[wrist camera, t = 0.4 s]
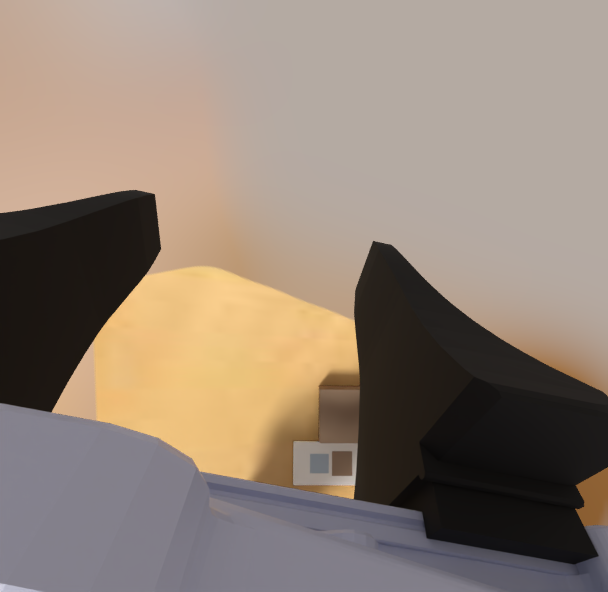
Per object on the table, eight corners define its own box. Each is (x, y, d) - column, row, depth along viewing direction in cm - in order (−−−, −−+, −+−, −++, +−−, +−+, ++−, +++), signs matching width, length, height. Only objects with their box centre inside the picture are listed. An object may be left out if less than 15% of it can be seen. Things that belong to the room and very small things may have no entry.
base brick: (368, 436, 38) (372, 443, 36) (318, 436, 38) (319, 443, 36) (368, 386, 39) (371, 389, 37) (318, 385, 39) (320, 389, 37)
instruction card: (360, 484, 38) (360, 485, 38) (293, 484, 38) (293, 485, 38) (360, 441, 38) (360, 441, 38) (293, 441, 38) (293, 441, 38)
